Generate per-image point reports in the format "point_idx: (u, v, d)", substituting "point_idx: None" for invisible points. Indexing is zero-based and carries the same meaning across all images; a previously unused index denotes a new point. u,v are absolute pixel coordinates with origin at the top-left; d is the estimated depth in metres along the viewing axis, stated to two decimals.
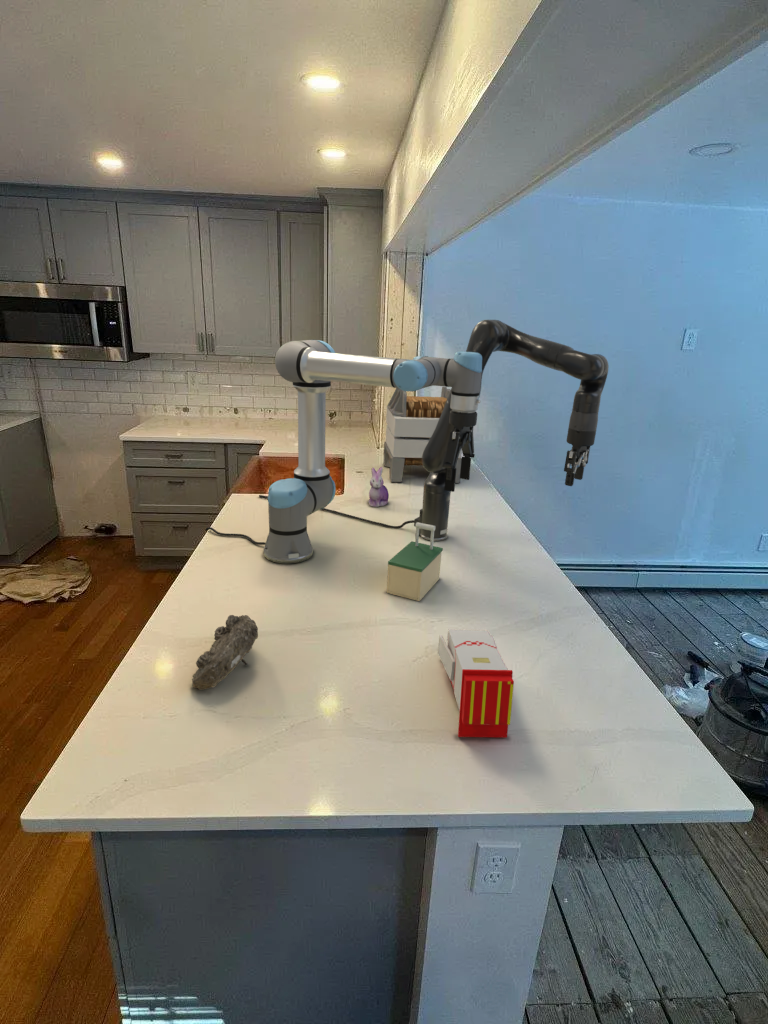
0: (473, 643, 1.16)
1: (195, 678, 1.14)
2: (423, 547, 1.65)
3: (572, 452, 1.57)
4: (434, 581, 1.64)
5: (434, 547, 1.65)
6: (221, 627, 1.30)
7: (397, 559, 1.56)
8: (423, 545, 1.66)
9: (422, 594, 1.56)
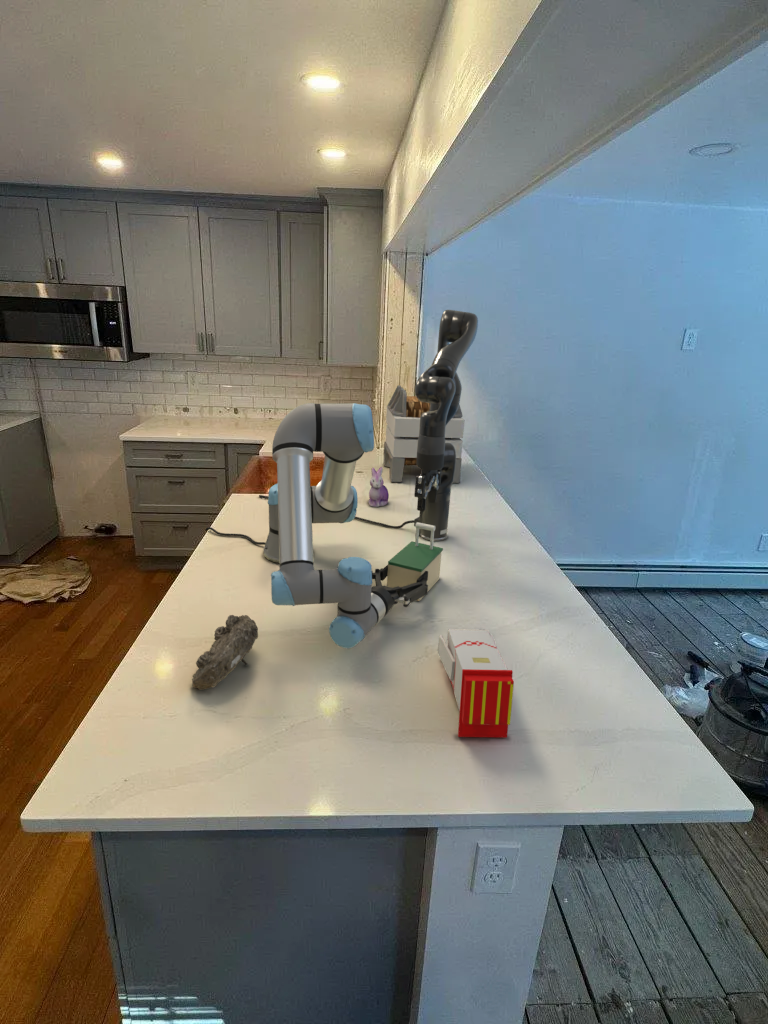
0: (473, 643, 1.16)
1: (195, 678, 1.14)
2: (423, 547, 1.65)
3: None
4: (434, 581, 1.64)
5: (434, 547, 1.65)
6: (221, 627, 1.30)
7: (397, 559, 1.56)
8: (423, 545, 1.66)
9: None
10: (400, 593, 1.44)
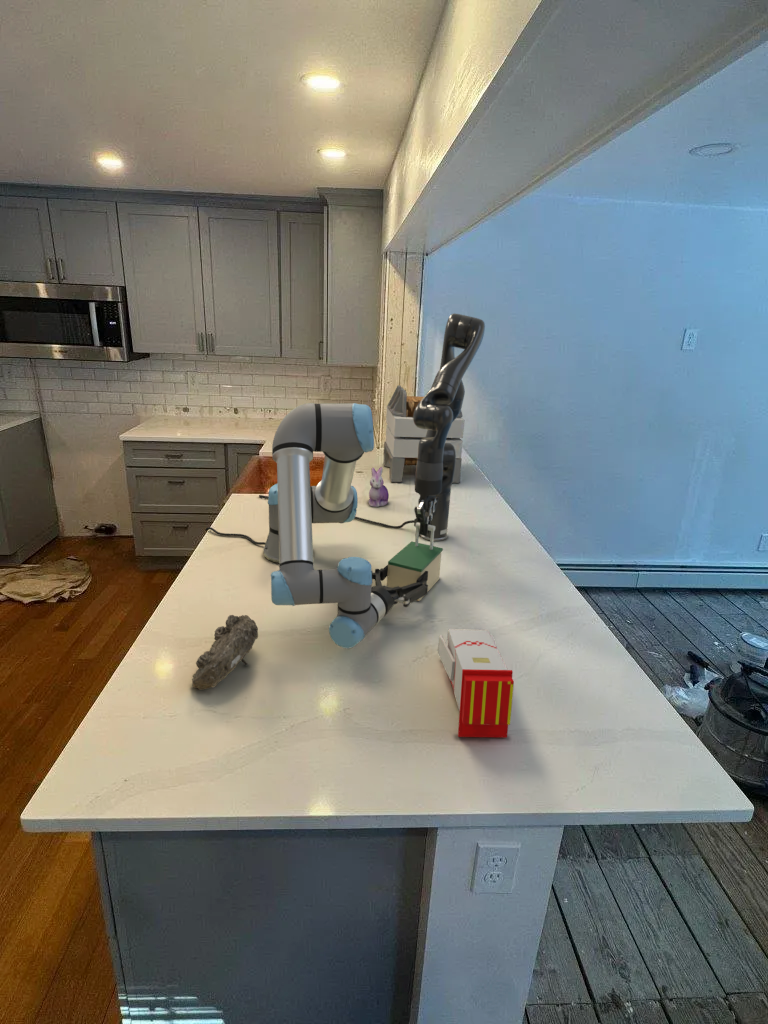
0: (473, 643, 1.16)
1: (195, 678, 1.14)
2: (423, 547, 1.65)
3: None
4: (434, 581, 1.64)
5: (434, 547, 1.65)
6: (221, 627, 1.30)
7: (397, 559, 1.56)
8: (423, 546, 1.66)
9: None
10: (400, 593, 1.44)
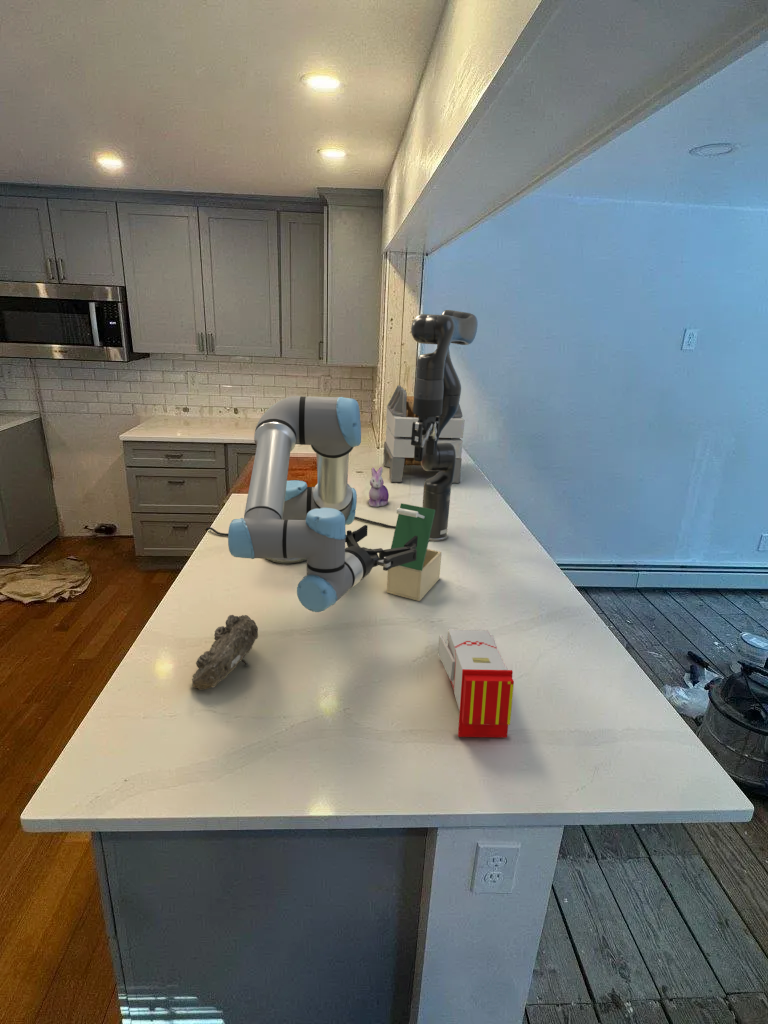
0: (473, 643, 1.16)
1: (195, 678, 1.14)
2: None
3: None
4: (434, 581, 1.64)
5: (425, 511, 1.53)
6: (221, 627, 1.30)
7: None
8: None
9: (422, 594, 1.56)
10: (382, 556, 1.28)
